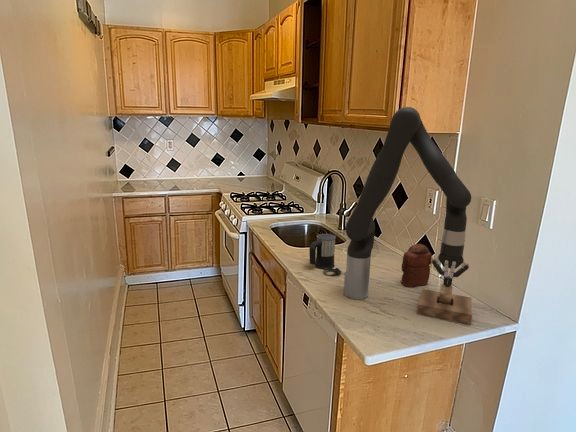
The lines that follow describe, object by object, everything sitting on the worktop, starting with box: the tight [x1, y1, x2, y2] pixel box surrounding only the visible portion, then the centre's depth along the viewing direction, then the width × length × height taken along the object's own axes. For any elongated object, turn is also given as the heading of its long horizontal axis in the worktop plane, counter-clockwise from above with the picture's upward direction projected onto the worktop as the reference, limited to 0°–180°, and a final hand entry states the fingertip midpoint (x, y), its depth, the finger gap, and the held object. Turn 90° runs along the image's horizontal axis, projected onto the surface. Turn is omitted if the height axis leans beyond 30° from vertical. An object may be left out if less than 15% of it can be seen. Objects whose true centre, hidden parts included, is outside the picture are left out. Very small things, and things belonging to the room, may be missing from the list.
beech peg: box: [439, 283, 454, 305], centre depth 143 cm, size 4×4×10 cm
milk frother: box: [308, 233, 342, 275], centre depth 179 cm, size 14×16×15 cm
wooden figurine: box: [400, 243, 433, 288], centre depth 164 cm, size 12×6×18 cm, turn 108°
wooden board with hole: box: [416, 288, 473, 326], centre depth 144 cm, size 18×14×4 cm
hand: (447, 285), depth 142 cm, fingers closed
